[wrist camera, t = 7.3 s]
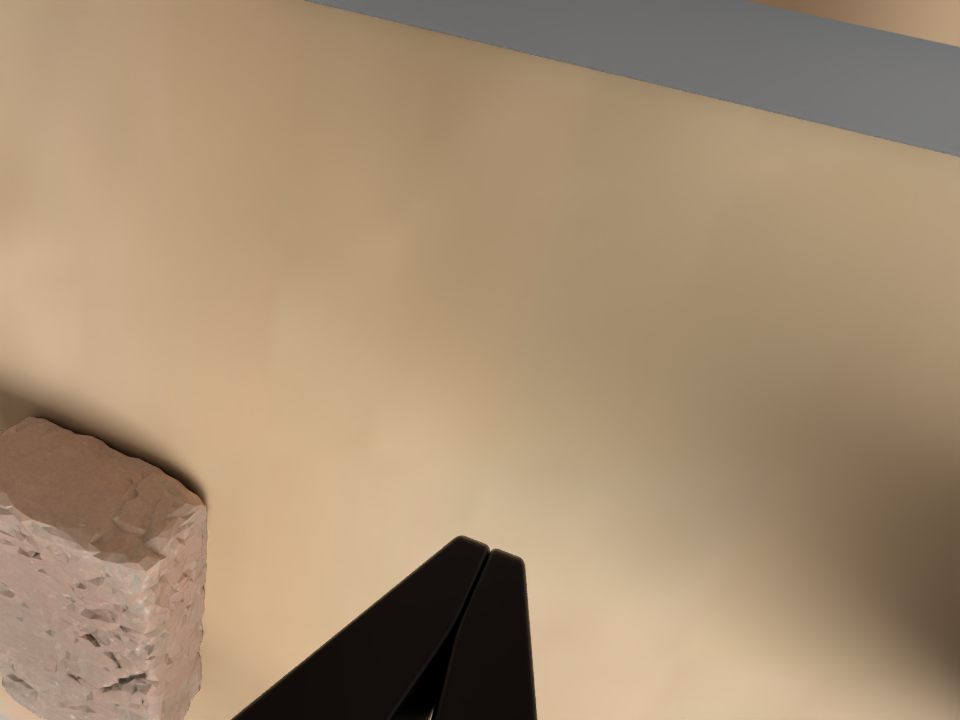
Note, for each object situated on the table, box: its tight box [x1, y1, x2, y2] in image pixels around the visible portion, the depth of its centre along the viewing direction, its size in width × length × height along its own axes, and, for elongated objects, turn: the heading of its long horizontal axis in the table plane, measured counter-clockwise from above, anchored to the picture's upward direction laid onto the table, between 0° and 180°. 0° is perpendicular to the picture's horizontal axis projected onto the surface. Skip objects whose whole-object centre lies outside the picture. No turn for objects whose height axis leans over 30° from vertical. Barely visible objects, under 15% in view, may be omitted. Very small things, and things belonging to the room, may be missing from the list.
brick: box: [0, 416, 208, 720], centre depth 31 cm, size 17×8×5 cm, turn 165°
